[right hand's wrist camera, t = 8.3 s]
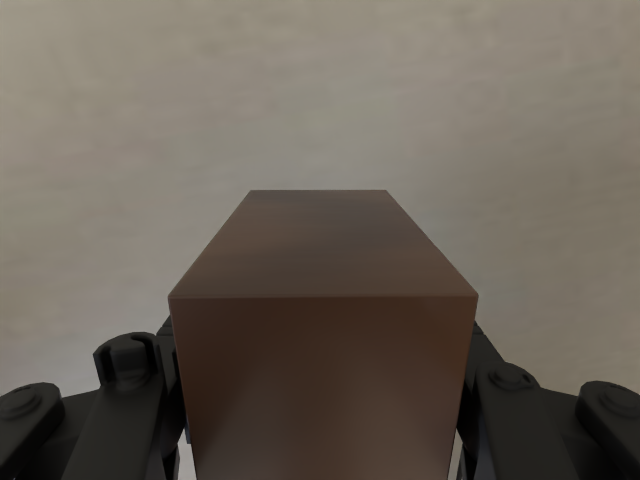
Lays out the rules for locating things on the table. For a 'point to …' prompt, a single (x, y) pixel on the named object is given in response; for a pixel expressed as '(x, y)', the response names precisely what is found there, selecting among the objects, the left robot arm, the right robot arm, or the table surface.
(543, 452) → the right robot arm
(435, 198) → the table surface
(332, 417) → the beam
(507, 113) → the table surface
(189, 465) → the table surface
